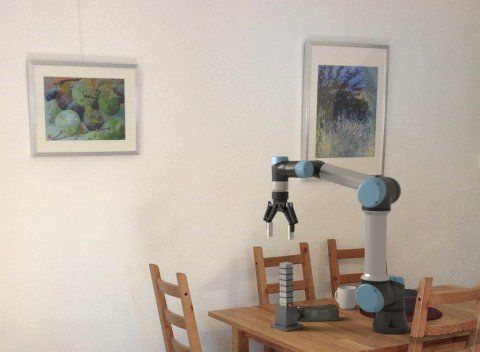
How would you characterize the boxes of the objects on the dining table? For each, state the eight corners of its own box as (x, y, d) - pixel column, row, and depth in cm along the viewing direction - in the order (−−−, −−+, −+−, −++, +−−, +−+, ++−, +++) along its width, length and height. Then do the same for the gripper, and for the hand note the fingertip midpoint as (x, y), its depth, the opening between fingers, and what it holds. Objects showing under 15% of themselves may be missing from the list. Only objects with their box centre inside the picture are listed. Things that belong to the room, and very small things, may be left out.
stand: (303, 327, 307) (302, 302, 307) (286, 331, 301) (286, 306, 300) (286, 323, 315) (286, 299, 314) (270, 327, 308) (269, 302, 308)
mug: (360, 308, 344) (360, 287, 344) (346, 311, 339) (346, 290, 338) (342, 304, 354) (342, 284, 354) (328, 306, 349) (328, 286, 349)
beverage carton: (294, 318, 326) (294, 303, 326) (336, 317, 327) (336, 303, 327) (297, 322, 318) (297, 307, 318) (339, 321, 319) (339, 306, 319)
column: (293, 309, 307) (293, 263, 307) (286, 311, 304) (286, 264, 304) (286, 308, 310) (286, 262, 310) (279, 309, 308) (279, 263, 307)
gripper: (306, 191, 313) (306, 239, 314) (267, 189, 332) (267, 235, 333) (293, 192, 308) (293, 241, 309) (255, 190, 327) (255, 236, 328)
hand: (280, 238), depth 321 cm, fingers open, 13 cm apart
